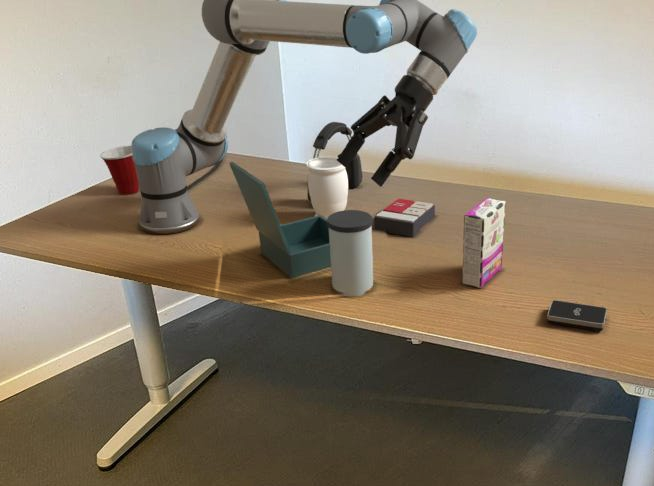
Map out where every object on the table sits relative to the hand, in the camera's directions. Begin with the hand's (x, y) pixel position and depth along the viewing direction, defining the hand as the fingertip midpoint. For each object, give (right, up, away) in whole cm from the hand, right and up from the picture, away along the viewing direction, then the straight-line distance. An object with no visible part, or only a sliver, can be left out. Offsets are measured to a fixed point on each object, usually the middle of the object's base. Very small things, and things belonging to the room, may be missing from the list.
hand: (358, 173), depth 146 cm
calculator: (+11, -2, +42) cm, 43 cm away
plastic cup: (-70, +11, +65) cm, 96 cm away
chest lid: (-22, -4, +12) cm, 25 cm away
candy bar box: (+27, -19, +16) cm, 37 cm away
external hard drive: (+44, -30, -1) cm, 53 cm away
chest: (-13, -14, +25) cm, 31 cm away
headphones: (-8, +9, +60) cm, 61 cm away
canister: (-2, -22, +13) cm, 25 cm away
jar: (-9, 0, +46) cm, 46 cm away
